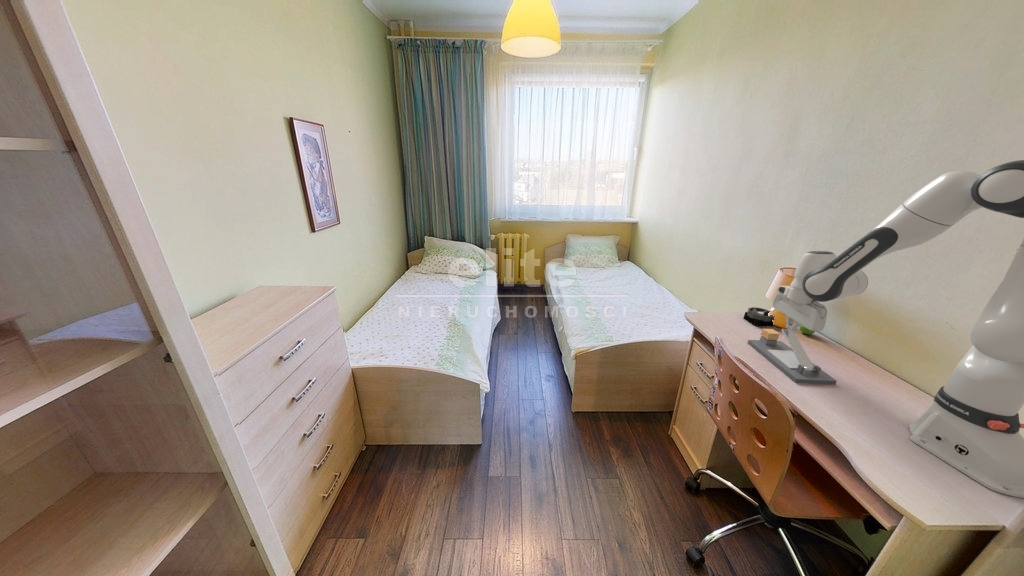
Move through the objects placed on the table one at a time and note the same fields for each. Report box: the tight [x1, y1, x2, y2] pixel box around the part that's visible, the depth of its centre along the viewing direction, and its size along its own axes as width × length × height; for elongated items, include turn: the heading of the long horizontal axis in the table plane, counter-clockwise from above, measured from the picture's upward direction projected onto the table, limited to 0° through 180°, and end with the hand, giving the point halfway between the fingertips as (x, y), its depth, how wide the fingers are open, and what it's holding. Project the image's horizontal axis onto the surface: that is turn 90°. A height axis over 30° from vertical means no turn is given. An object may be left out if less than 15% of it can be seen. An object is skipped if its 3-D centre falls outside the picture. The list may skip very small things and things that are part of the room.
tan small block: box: [760, 328, 781, 341], centre depth 130 cm, size 4×4×3 cm
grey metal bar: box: [781, 328, 816, 371], centre depth 117 cm, size 17×4×1 cm
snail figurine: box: [799, 325, 816, 335], centre depth 140 cm, size 5×6×12 cm
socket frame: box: [747, 335, 838, 385], centre depth 121 cm, size 26×13×4 cm, turn 177°
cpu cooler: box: [743, 306, 775, 328], centre depth 151 cm, size 10×6×10 cm
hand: (790, 329), depth 120 cm, fingers closed
